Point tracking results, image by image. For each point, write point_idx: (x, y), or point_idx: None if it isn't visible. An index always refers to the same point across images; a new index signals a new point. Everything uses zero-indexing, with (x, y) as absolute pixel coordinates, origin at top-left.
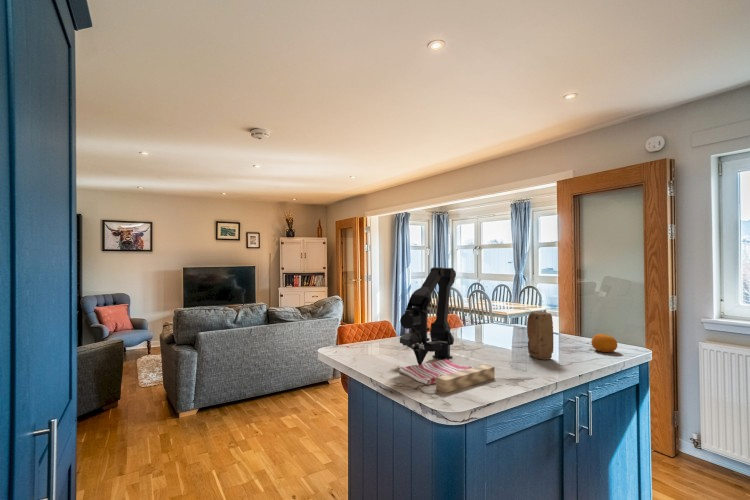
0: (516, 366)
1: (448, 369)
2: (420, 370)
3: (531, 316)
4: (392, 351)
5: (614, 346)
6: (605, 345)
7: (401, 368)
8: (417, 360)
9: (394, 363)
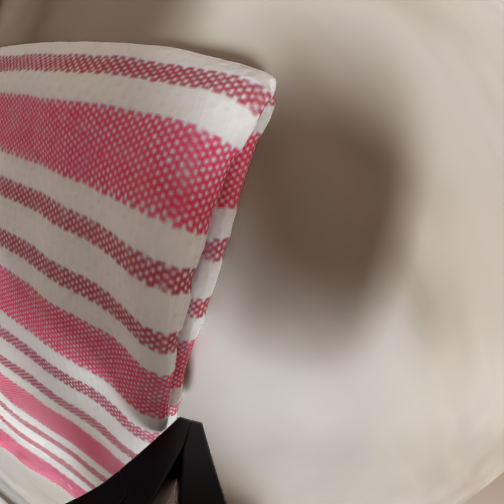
0: (18, 496)
1: (11, 410)
2: (49, 253)
3: None
4: (498, 468)
5: None
6: None
7: (233, 73)
8: (200, 454)
9: (474, 352)
